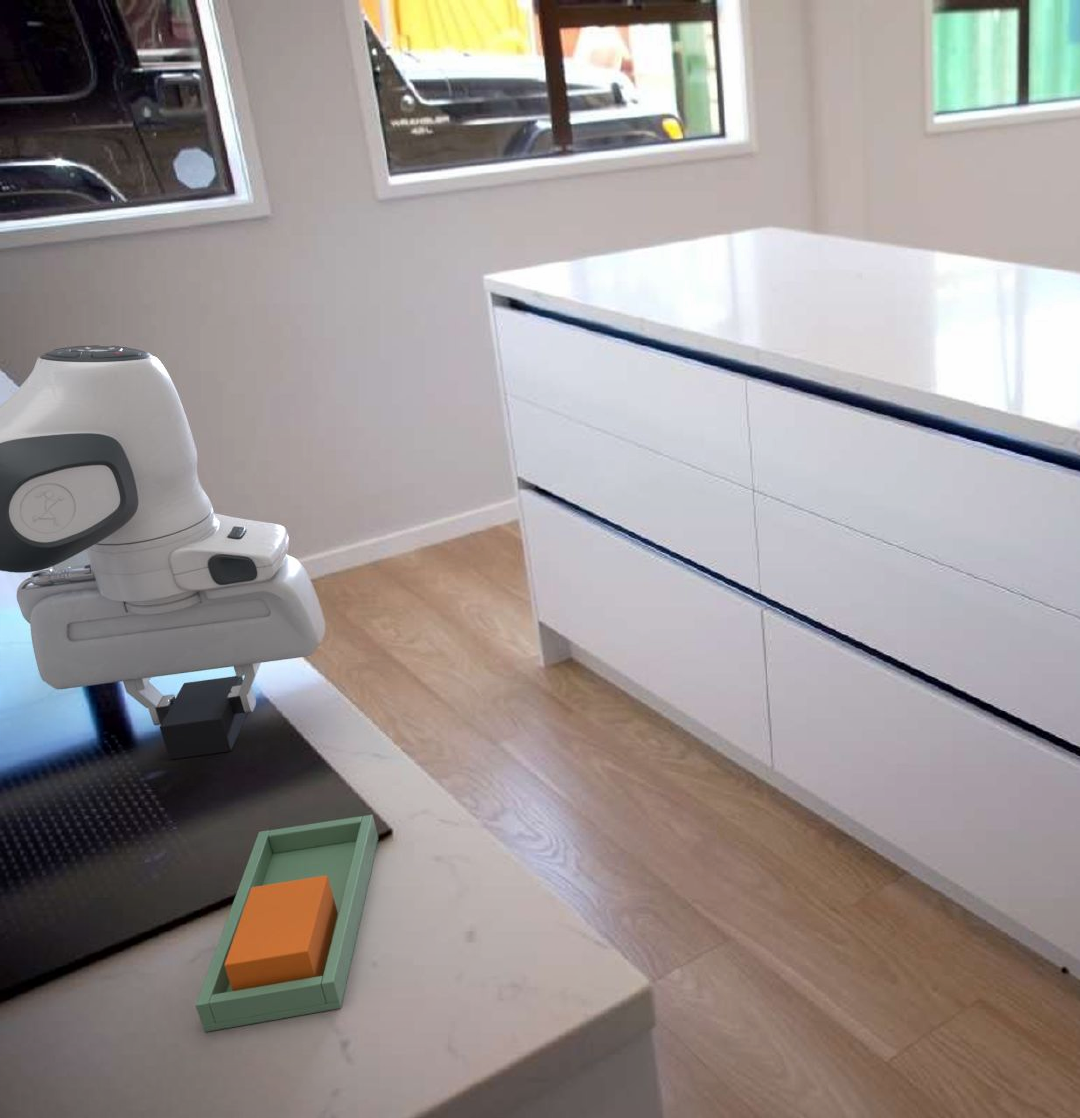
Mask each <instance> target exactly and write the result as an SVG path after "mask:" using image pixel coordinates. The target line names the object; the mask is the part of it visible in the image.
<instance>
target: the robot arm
mask: <svg viewBox="0 0 1080 1118" xmlns="http://www.w3.org/2000/svg"><path fill="white" fill-rule="evenodd" d="M195 443H196V442H195V440H194V437H193V433H192V430H191V427H190V424H189V420H188V417H187V415H186V412H185V409H184V406H183V404H182V401H181V397H180V395H179V393H178V391H177V388H176V386H175V384H174V382H173V380H172V378H171V376H170V374H169V372H168V371H167V369H166V368H165V366H164V364H163V363H162V362H161V360H159V358H158V357H156V356H153V354H151V353H150V352H146V351H144V350H141V349H137V348H132V347H127V346H120V345H119V346H118V345H98V344H95V345H94V344H93V345H76V346H67V347H60V348H59V347H58V348H55V349H53V350H49V351H47V352H45V353H43V354H40V355H39V356H38V357H37V358H36V361H35V364H34V367H33V369H32V371H31V372H30V374H29V376H28V377H27V378H26V379H25V380H24V381H23V382H22V384H21V385H20V386H19V387H18V388H17V390H16V391H15V392H13V394H12V395H11V396H9V398H7V399H6V400H5V401H4V402H3V403H2V404H1V405H0V572H7V573H16V574H17V573H18V574H21V573H22V574H24V573H25V574H27V573H31V575H30V577H28V578H26V579H24V580H23V581H21V582H20V584H19V586H18V587H17V589H16V601H17V604H18V606H19V610H20V613H21V615H22V617H23V618H24V621H26V622H27V623H28V624H29V626H30V636H31V643H32V648H33V649H32V650H33V655H34V658H35V663H36V667H37V670H38V674H39V677H40V679H41V680H42V681H43V682H44V683H45V684H47V685H49V687H52V688H53V689H55V690H57V691H58V690H67V689H77V688H81V687H82V688H83V687H90V686H97V685H105V684H106V685H107V684H112V683H120V682H122V684H123V687H124V689H125V692H126V694H128V695H129V696H130V697H132V698H133V699H134V700H136V701H137V702H138V703H139V704H141V705H142V706H143V707H144V708H145V709H148V712H149V714H150V718H151V721H152V724H153V725H154V726H161V724H162V722H163V720H164V718H165V717H166V715H167V713H168V711H169V710H170V708H171V706H172V704H173V703H174V701H175V698H176V696H175V694H166V695H164V694H163V693H161V691H159V690H158V688H157V687H156V686H154V685H153V684H152V683H151V682H150V681H151V679H152V678H157V677H165V676H173V675H180V674H187V673H195V672H201V671H202V672H203V671H209V670H217V669H218V670H219V669H224V668H233V670H234V672H235V673H234V674H235V676H238V677H241V676H242V677H243V682H242V685H239V686H233V687H232V688H231V690H230V691H231V692H230V693H229V695H228V697H227V698H228V702H229V703H230V706H232V708H231V709H232V713H233V714H240V713H247V714H248V713H254V710H255V708H256V705H257V699H256V695H255V692H254V688H253V685H254V682H255V679H256V677H257V674H258V671H259V669H260V666H261V664H262V663H269V662H277V661H284V660H291V659H292V660H293V659H298V658H307V657H311V656H313V655H314V654H315V653H316V652H317V650H318V649H319V647H320V646H321V645H322V642H323V640H324V637H325V634H326V627H327V626H326V619H325V616H324V613H323V609H322V606H321V603H320V601H319V598H318V595H317V592H316V590H315V587H314V585H313V582H312V580H311V578H310V576H309V574H308V572H307V570H306V569H305V567H304V566H303V564H302V563H300V561H298V560H297V559H296V558H294V557H292V556H290V555H288V552H289V545H290V538H289V533H288V531H287V529H286V528H285V527H284V526H283V525H281V524H278V523H272V522H267V521H266V522H265V521H259V520H252V519H246V518H240V517H235V516H230V515H229V516H228V515H224V514H220V513H215V512H214V509H213V505H212V502H211V499H210V498H209V497H208V495H207V493H206V492H205V490H204V489H203V487H202V484H201V482H200V478H199V476H198V450H197V447H196V444H195ZM84 550H86V552H87V555H88V558H89V561H90V564H89V565H82V566H74V567H70V568H66V569H60V570H53V569H49V568H53V567H52V566H54V565H57V564H59V563H61V562H63V561H65V560H67V559H69V558H71V557H73V556H75V555H76V554H78V553H80V552H82V551H84Z"/></svg>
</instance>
